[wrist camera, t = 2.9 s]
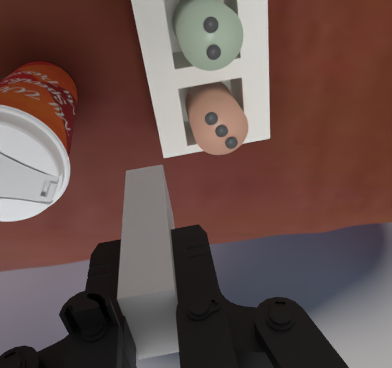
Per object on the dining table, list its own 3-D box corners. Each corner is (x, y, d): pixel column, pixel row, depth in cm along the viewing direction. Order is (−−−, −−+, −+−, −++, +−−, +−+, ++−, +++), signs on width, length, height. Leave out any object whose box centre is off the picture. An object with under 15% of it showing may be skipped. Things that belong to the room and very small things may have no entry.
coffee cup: (101, 69, 34) (82, 141, 22) (77, 142, 38) (49, 240, 26) (5, 31, 32) (-78, 90, 19) (-11, 114, 35) (-89, 209, 23)
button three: (181, 83, 33) (190, 110, 28) (230, 75, 33) (247, 100, 28) (188, 128, 35) (197, 160, 30) (233, 120, 35) (250, 150, 30)
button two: (168, -3, 29) (175, 9, 24) (223, -13, 29) (242, -2, 24) (177, 54, 31) (185, 76, 26) (227, 45, 31) (245, 65, 26)
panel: (107, -129, 27) (101, -144, 22) (240, -149, 27) (264, -168, 22) (160, 130, 39) (164, 158, 34) (252, 113, 39) (270, 138, 34)
